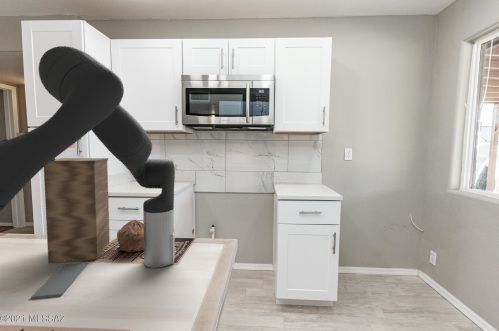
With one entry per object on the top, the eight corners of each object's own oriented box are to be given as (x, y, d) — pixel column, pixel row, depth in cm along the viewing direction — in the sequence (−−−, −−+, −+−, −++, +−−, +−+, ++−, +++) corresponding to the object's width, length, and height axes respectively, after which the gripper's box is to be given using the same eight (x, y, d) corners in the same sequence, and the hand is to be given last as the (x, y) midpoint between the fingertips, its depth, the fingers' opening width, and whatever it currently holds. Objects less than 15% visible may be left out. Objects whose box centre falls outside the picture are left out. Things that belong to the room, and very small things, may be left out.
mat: (88, 263, 82) (88, 261, 82) (61, 295, 65) (61, 293, 65) (64, 265, 81) (64, 263, 81) (31, 299, 63) (30, 296, 63)
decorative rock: (121, 243, 100) (121, 217, 99) (152, 240, 102) (152, 216, 102) (112, 257, 87) (111, 228, 86) (147, 254, 90) (147, 226, 89)
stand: (110, 242, 99) (108, 158, 97) (98, 259, 85) (94, 160, 83) (67, 245, 96) (63, 158, 93) (46, 263, 82) (41, 160, 79)
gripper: (34, 160, 50) (66, 122, 64) (-57, 160, 47) (-2, 120, 61) (45, 190, 55) (74, 148, 68) (-37, 192, 51) (10, 147, 65)
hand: (38, 135), depth 65 cm, fingers closed on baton, 3 cm apart
